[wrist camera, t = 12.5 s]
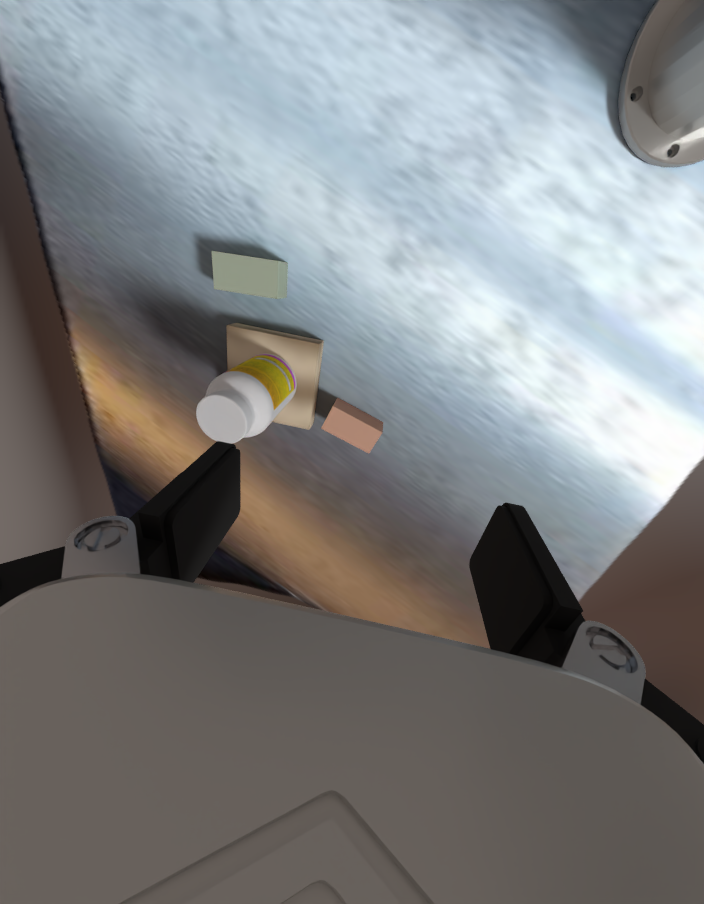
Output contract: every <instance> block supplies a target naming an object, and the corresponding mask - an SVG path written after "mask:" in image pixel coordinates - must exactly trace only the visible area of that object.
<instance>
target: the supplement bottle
mask: <svg viewBox="0 0 704 904" xmlns="http://www.w3.org/2000/svg"><path fill="white" fill-rule="evenodd" d="M296 387H297V382H296V376H295V373H294V371H293V369H292V368H291V366H290V365H289V364H288V363H287V362H286V361H285V360H284V359H282V358H281V357H279V356H276V355H274V354H268V353H265V354H259V355H256V356H254V357H252V358H250V359H248V360H247V361H245V362H243V363H241V364H239V365H237V366H236V367H234V368H232V369H230V370H228V371H227V372H225V373H223V374H221V375H219V376H218V377H216V378H215V379H214V380H213V381H212V382H211V383H210V385H209V387H208V389H207V392H206V397H204V398H203V399H202V400H201V401H200V402H199V404H198V406H197V409H196V417H197V421H198V423H199V425H200V427H201V429H202V430H203V431H204V432H205V433H206V435H208V436H209V437H210V438H212V439H213V440H215V441H221V442H226V443H235V442H237V441H239V440H241V439H242V438H243V437H252V436H255V435H258V434H259V433H261V432H262V431H264V430H265V429H266V428H267V427H268V426H269V424H270V423H271V422H272V421H273V420H274V419H275V418H276V416H277V415H278V414H279V413H280V412H281V411H282V410H283V409H284V407H285V406H286V405H287V404H288V403H289V402H290V401H291V399H292V398H293V396H294V394H295V392H296Z"/></svg>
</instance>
